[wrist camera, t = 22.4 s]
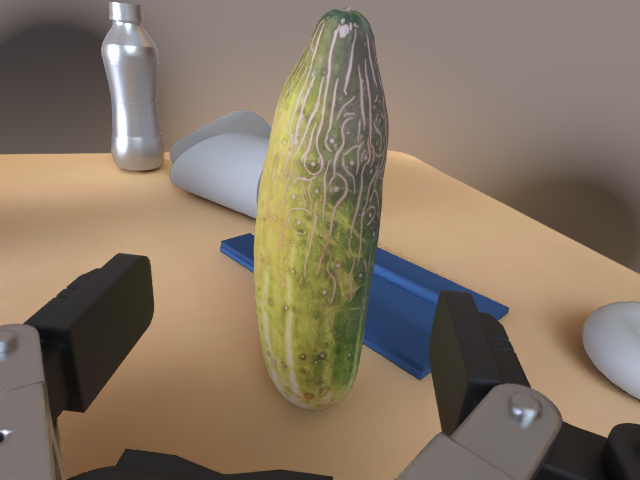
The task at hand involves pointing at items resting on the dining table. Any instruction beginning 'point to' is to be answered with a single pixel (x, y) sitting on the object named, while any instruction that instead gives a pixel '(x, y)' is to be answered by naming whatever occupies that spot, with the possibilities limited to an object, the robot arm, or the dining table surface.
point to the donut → (615, 343)
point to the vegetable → (321, 213)
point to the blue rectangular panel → (392, 305)
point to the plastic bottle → (133, 90)
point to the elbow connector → (224, 161)
